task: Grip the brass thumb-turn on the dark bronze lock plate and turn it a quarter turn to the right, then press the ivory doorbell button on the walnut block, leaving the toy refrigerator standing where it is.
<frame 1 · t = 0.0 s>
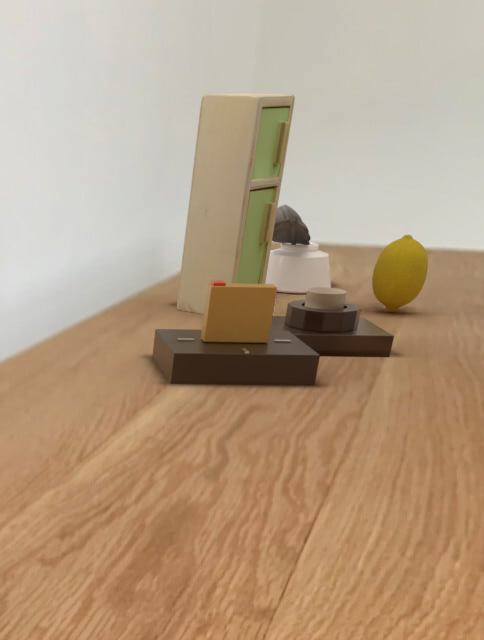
lemon: (391, 314, 124), on the table
toy refrigerator: (221, 312, 124), on the table
inkwell: (283, 294, 134), on the table
lock plate: (228, 377, 97), on the table
lock knob: (238, 311, 94), point 5 cm above the table, hinge at 0.0°
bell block: (316, 349, 107), on the table
bell button: (325, 300, 105), point 4 cm above the table, slide at 0.1 cm
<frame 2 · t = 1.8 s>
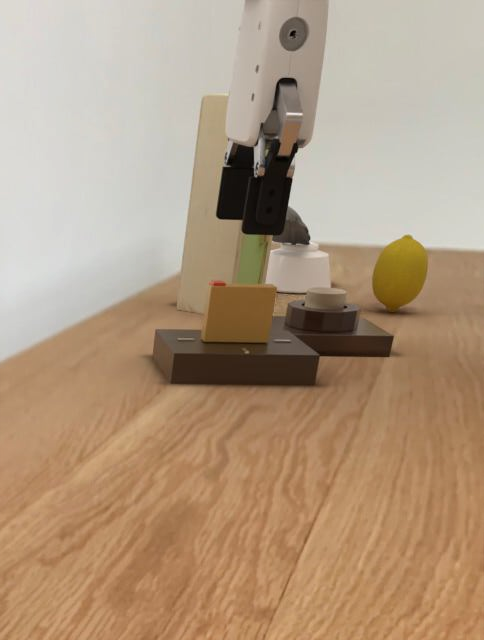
hand: (247, 226, 91), 12 cm above the table, tool pointing down, fingers open, 9 cm apart
nothing on the table moved.
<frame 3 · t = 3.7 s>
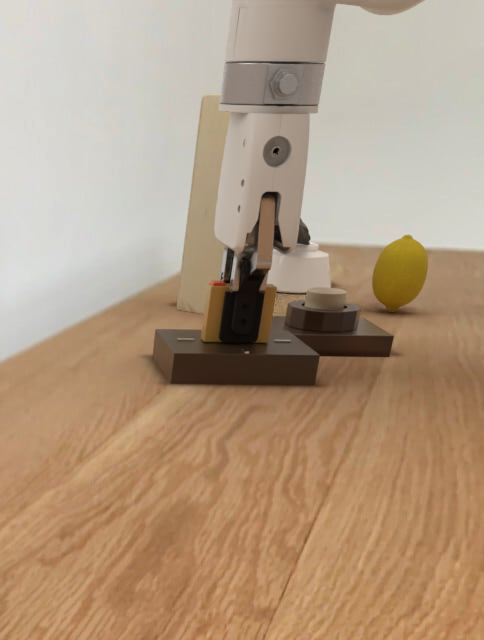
hand: (234, 337, 95), 3 cm above the table, tool pointing down, fingers closed on lock knob
lock knob: (238, 311, 94), point 5 cm above the table, hinge at 0.0°, touching gripper
everything else where it was.
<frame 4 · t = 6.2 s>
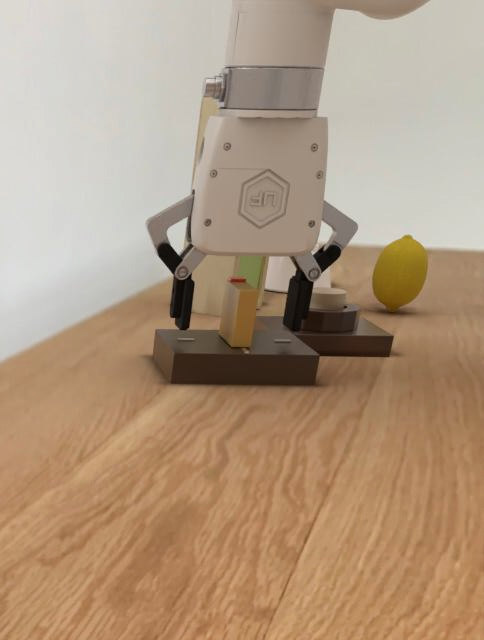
hand: (236, 327, 95), 4 cm above the table, tool pointing down, fingers open, 9 cm apart
lock knob: (238, 311, 94), point 5 cm above the table, hinge at -89.9°
everything else where it was.
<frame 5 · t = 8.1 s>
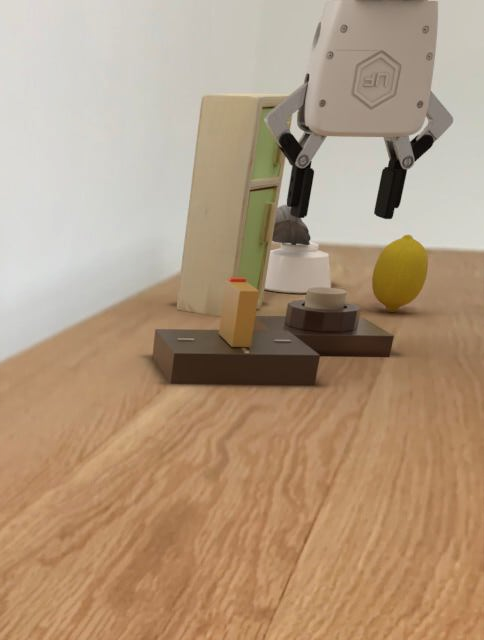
hand: (340, 215, 101), 12 cm above the table, tool pointing down, fingers open, 7 cm apart
nothing on the table moved.
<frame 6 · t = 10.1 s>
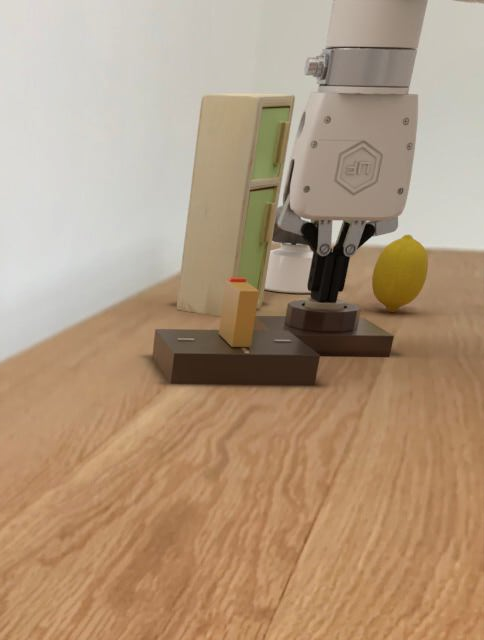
hand: (323, 299, 105), 5 cm above the table, tool pointing down, fingers closed
bell button: (323, 309, 105), point 4 cm above the table, slide at -0.8 cm, touching gripper
everything else where it was.
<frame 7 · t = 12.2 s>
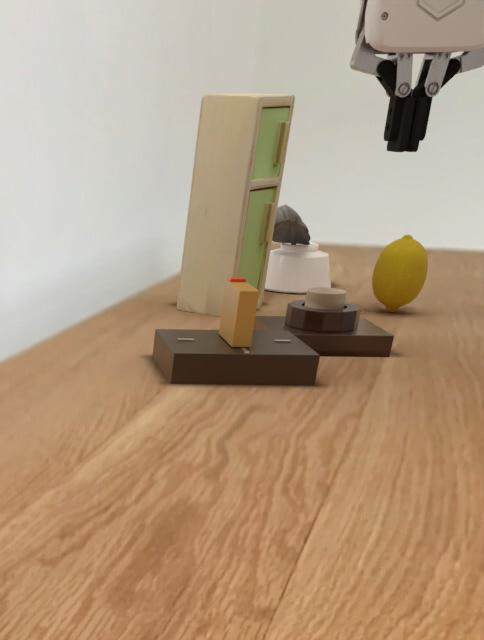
hand: (401, 150, 94), 17 cm above the table, tool pointing down, fingers closed
bell button: (325, 300, 105), point 4 cm above the table, slide at 0.1 cm
everything else where it was.
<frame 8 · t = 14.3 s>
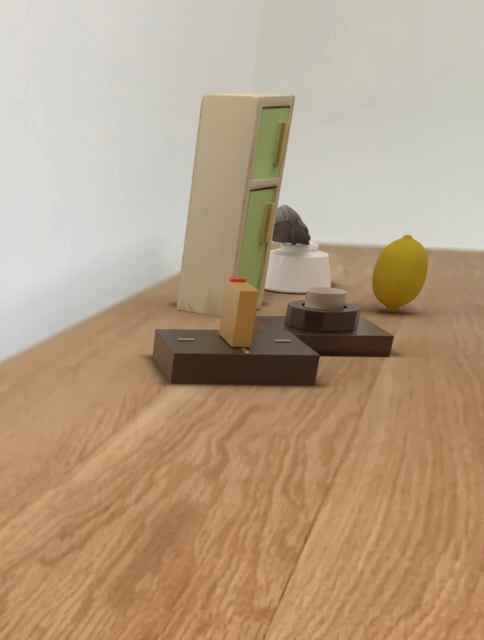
nothing on the table moved.
at the end: lock knob at -90° (first picture: +0°); bell button pushed in 1.1 cm at the most during the clip, back to where it started at the end; toy refrigerator moved 0.2 cm from its start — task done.
